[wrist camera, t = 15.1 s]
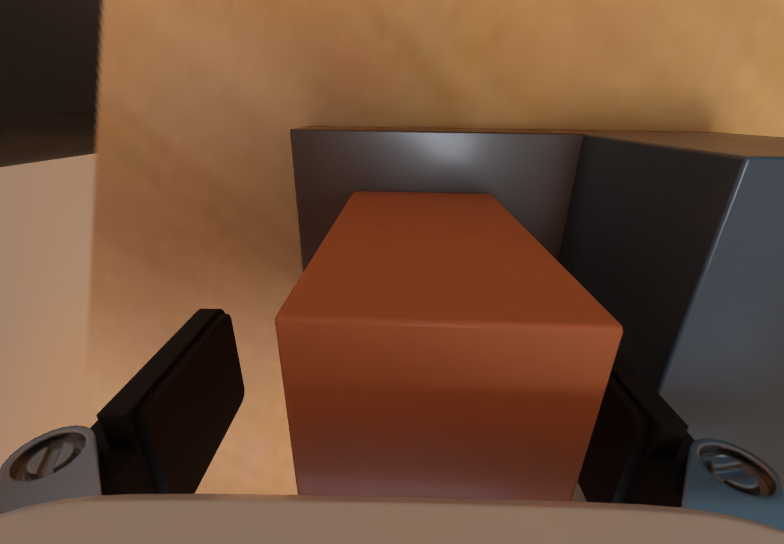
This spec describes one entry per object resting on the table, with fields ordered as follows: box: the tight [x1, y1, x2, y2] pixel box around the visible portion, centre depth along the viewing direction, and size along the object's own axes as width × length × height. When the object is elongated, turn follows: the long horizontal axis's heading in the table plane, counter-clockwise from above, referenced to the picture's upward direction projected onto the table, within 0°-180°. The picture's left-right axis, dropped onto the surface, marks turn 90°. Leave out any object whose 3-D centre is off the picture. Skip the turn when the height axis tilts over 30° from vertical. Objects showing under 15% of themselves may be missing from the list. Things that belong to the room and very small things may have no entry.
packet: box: [275, 191, 623, 501], centre depth 11 cm, size 5×8×9 cm, turn 179°
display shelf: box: [290, 126, 784, 502], centre depth 13 cm, size 16×12×9 cm
